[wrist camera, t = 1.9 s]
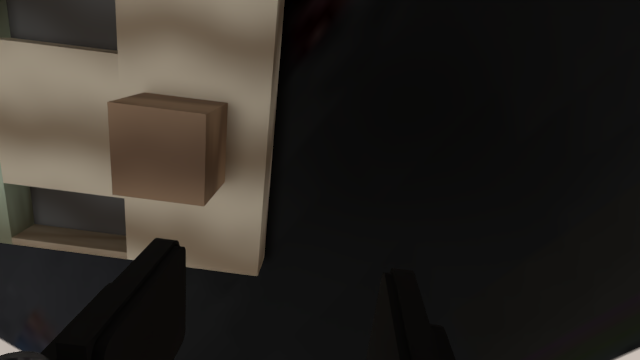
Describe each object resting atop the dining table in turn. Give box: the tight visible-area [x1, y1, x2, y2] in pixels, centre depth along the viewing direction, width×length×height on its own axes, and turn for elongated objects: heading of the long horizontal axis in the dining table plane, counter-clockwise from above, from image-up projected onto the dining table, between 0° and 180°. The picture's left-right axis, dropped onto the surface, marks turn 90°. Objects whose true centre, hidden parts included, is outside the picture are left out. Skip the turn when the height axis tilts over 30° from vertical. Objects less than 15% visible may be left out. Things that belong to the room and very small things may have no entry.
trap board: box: [0, 0, 285, 276], centre depth 25 cm, size 18×26×4 cm
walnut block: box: [107, 92, 228, 206], centre depth 23 cm, size 5×5×4 cm
